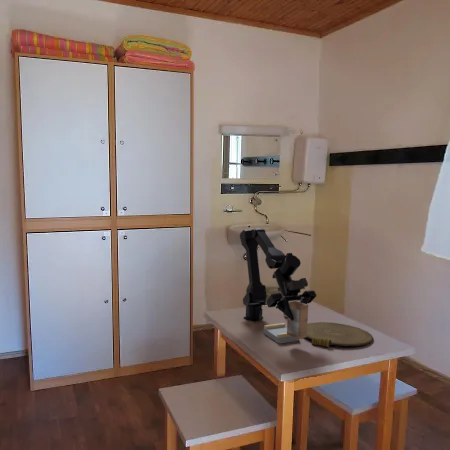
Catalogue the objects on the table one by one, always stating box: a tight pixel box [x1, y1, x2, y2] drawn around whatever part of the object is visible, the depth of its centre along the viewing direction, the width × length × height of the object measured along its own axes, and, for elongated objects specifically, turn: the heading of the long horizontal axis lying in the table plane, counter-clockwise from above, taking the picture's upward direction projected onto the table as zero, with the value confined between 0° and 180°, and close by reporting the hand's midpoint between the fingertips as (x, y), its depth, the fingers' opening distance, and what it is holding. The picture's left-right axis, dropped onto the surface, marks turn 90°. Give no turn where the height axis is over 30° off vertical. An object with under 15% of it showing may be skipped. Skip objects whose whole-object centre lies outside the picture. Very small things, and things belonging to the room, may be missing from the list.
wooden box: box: [286, 300, 309, 340], centre depth 158 cm, size 6×4×12 cm
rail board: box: [262, 322, 300, 344], centre depth 169 cm, size 12×9×3 cm
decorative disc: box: [306, 321, 374, 348], centre depth 172 cm, size 29×3×30 cm
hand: (299, 319), depth 157 cm, fingers closed on wooden box, 5 cm apart
